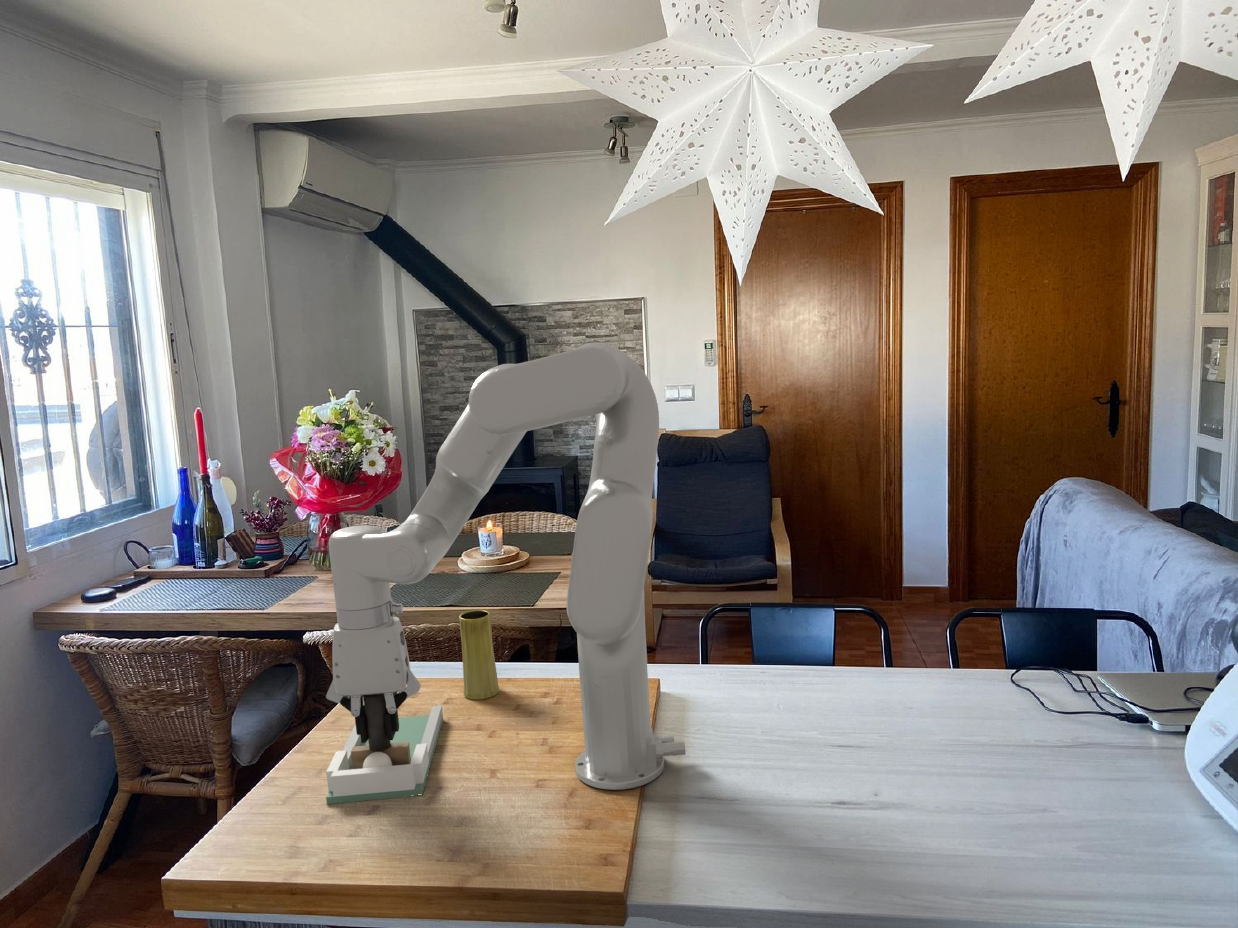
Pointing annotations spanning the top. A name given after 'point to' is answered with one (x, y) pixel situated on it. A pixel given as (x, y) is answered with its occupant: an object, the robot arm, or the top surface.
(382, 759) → the ball
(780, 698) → the top surface
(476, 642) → the vase
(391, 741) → the pitch
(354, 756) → the striker
